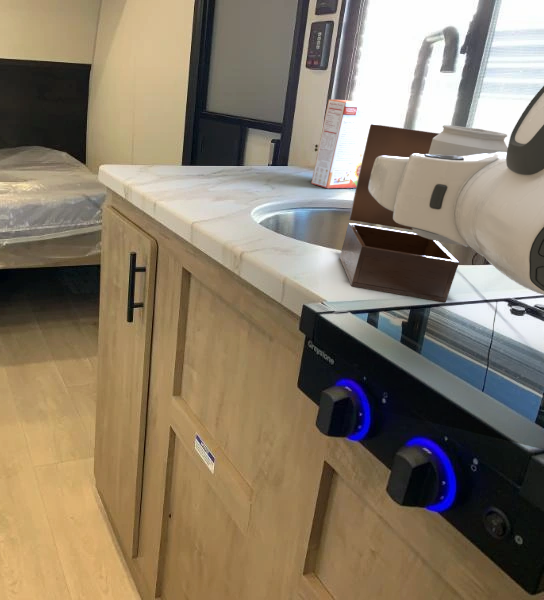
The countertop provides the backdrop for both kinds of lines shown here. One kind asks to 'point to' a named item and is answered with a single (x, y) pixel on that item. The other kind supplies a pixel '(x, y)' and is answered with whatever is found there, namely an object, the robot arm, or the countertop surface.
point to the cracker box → (344, 142)
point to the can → (463, 153)
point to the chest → (397, 262)
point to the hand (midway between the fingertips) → (455, 178)
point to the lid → (377, 144)
